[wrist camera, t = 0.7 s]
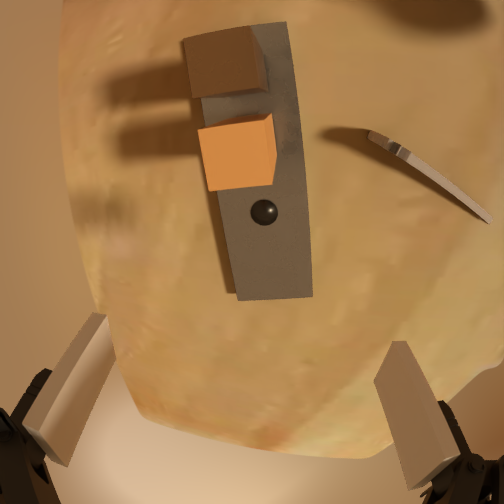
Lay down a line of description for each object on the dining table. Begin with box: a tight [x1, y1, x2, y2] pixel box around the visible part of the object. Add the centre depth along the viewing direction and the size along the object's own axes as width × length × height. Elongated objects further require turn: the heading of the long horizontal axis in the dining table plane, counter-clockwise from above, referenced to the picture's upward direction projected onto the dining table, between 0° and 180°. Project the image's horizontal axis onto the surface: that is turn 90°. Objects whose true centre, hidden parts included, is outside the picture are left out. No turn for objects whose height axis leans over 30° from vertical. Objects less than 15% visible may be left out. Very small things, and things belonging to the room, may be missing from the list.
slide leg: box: [198, 113, 277, 191], centre depth 22 cm, size 4×4×11 cm
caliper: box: [367, 130, 493, 224], centre depth 26 cm, size 20×1×6 cm, turn 67°
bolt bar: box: [183, 22, 313, 301], centre depth 25 cm, size 9×30×13 cm, turn 8°
